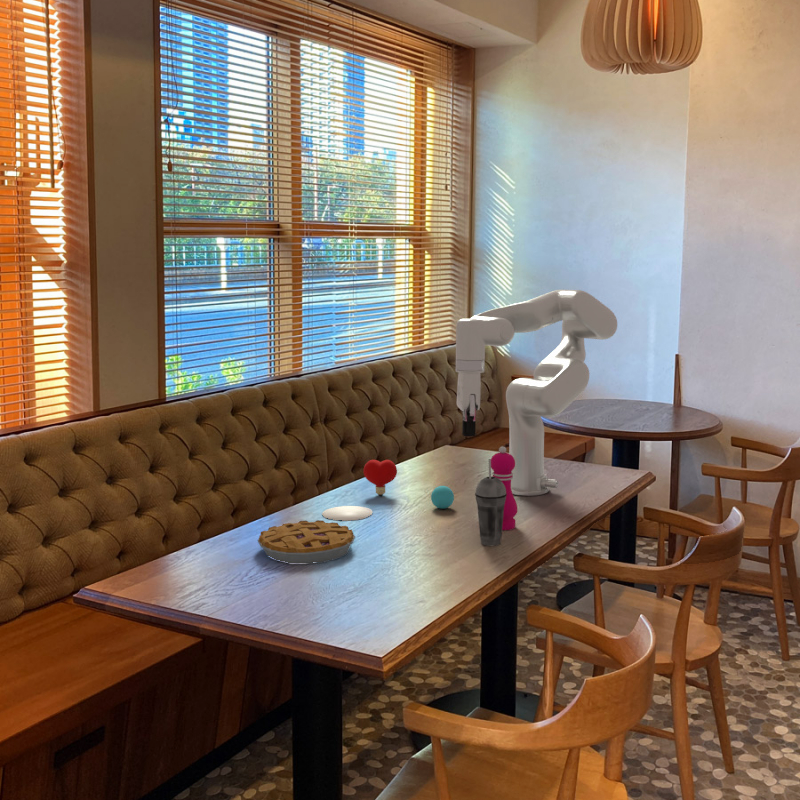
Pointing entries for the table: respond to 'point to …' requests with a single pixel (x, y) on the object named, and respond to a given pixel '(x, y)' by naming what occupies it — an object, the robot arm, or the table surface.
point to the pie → (306, 541)
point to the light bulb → (380, 474)
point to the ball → (442, 497)
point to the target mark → (347, 513)
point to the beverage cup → (490, 508)
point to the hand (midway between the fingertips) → (468, 435)
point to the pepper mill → (505, 484)
